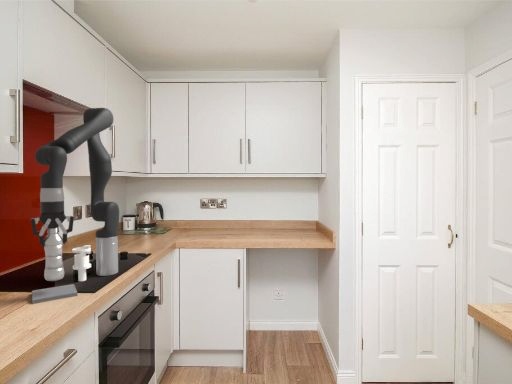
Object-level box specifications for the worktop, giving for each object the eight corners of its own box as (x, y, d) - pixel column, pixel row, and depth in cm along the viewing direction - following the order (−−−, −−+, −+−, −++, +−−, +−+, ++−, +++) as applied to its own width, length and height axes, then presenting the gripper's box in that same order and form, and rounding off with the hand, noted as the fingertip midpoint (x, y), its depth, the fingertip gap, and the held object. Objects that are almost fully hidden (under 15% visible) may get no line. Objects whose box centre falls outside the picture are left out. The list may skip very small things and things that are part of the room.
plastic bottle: (52, 283, 119) (51, 229, 118) (39, 281, 122) (38, 228, 121) (68, 278, 125) (67, 227, 124) (56, 277, 128) (55, 226, 127)
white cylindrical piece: (91, 281, 140) (91, 246, 139) (73, 283, 137) (72, 248, 136) (90, 276, 146) (90, 243, 146) (72, 279, 143) (72, 245, 142)
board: (32, 293, 125) (31, 290, 124) (73, 286, 133) (73, 284, 132) (32, 303, 115) (32, 300, 115) (77, 295, 123) (77, 292, 123)
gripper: (73, 199, 129) (74, 241, 130) (28, 200, 121) (30, 245, 122) (75, 200, 123) (76, 244, 124) (28, 201, 115) (30, 248, 116)
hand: (53, 244), depth 123 cm, fingers closed on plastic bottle, 6 cm apart
